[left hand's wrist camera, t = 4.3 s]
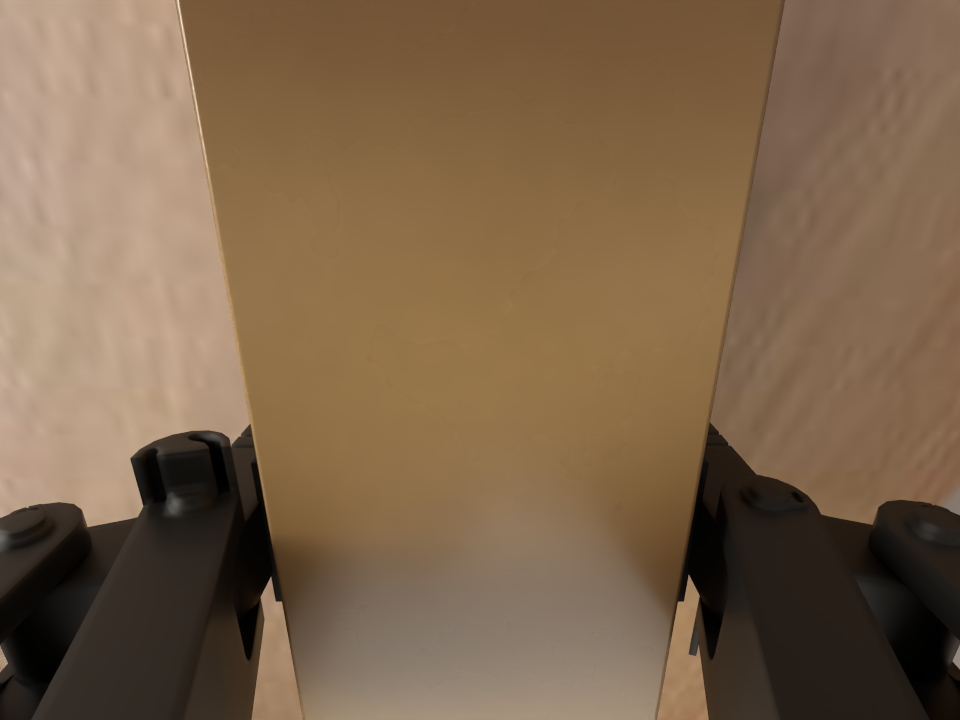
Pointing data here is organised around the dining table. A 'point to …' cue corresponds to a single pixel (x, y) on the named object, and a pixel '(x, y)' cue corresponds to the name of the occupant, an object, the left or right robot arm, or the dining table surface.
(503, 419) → the bar
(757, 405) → the dining table surface
